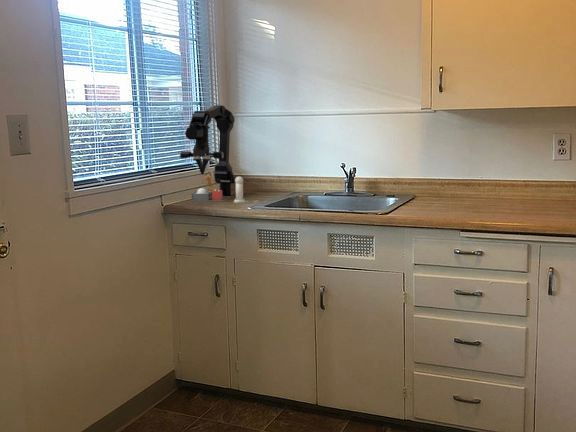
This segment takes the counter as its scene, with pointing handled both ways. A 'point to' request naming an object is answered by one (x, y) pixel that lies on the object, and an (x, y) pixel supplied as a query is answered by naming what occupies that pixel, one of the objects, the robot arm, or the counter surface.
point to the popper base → (208, 196)
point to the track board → (255, 201)
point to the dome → (201, 191)
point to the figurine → (208, 181)
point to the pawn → (239, 190)
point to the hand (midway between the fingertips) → (202, 174)
